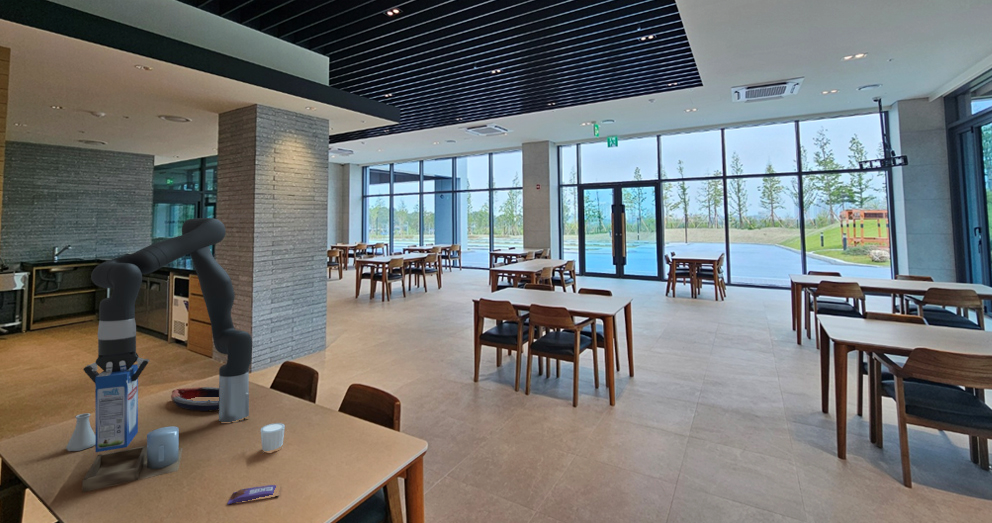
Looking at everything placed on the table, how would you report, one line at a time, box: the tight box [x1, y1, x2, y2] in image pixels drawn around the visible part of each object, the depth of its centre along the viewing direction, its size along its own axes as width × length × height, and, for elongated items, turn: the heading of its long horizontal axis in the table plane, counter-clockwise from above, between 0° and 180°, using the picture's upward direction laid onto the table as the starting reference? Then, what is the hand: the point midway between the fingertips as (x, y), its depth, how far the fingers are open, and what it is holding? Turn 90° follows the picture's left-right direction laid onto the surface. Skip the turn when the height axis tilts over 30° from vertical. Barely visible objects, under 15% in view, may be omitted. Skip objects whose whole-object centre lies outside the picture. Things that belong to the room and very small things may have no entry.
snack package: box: [226, 484, 277, 505], centre depth 104 cm, size 12×2×5 cm
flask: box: [65, 412, 95, 452], centre depth 126 cm, size 7×7×10 cm
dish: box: [170, 386, 219, 412], centre depth 161 cm, size 16×31×5 cm, turn 71°
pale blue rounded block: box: [146, 426, 180, 469], centre depth 115 cm, size 7×8×9 cm
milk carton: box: [94, 363, 139, 453], centre depth 109 cm, size 10×6×20 cm, turn 29°
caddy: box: [82, 445, 184, 493], centre depth 112 cm, size 19×15×4 cm
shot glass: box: [260, 422, 286, 451], centre depth 127 cm, size 7×7×7 cm
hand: (117, 397), depth 109 cm, fingers closed
